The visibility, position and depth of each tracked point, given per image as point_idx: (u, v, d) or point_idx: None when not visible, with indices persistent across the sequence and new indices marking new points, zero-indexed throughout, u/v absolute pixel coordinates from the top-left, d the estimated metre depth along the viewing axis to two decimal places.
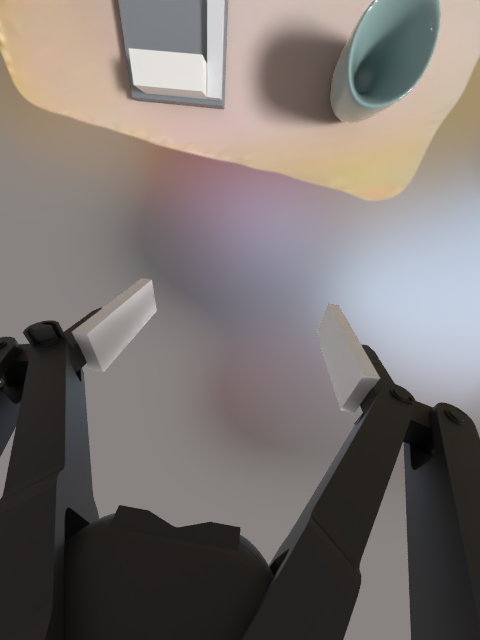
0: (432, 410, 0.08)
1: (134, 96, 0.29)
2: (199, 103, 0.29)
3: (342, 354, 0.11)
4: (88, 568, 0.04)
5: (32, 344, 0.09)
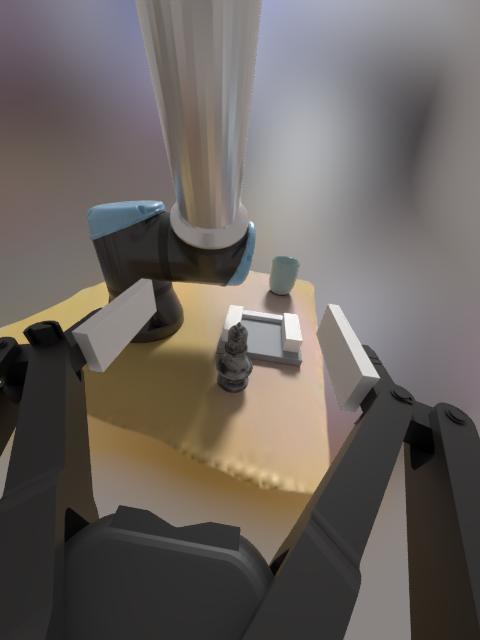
0: (432, 410, 0.08)
1: (301, 359, 0.38)
2: None
3: (342, 354, 0.11)
4: (88, 568, 0.04)
5: (32, 344, 0.09)
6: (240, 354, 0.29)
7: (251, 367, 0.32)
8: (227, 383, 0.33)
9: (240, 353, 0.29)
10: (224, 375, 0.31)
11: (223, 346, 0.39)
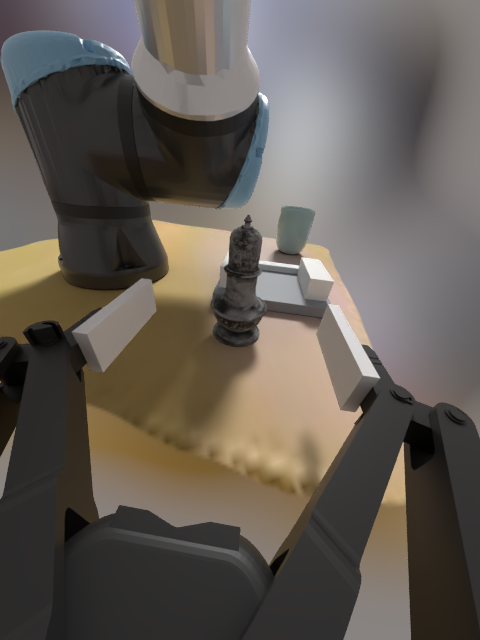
0: (432, 410, 0.08)
1: None
2: None
3: (342, 354, 0.11)
4: (88, 568, 0.04)
5: (32, 344, 0.09)
6: (250, 275, 0.18)
7: (265, 307, 0.21)
8: (228, 334, 0.22)
9: (250, 274, 0.18)
10: (224, 315, 0.19)
11: (221, 292, 0.28)
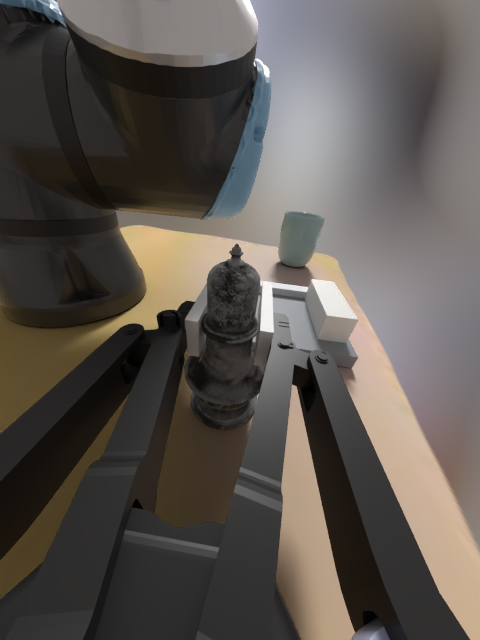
0: (308, 359, 0.10)
1: (355, 354, 0.20)
2: None
3: (259, 320, 0.13)
4: (129, 585, 0.04)
5: (159, 326, 0.11)
6: (240, 339, 0.11)
7: None
8: (212, 408, 0.15)
9: (241, 337, 0.11)
10: (201, 393, 0.12)
11: None
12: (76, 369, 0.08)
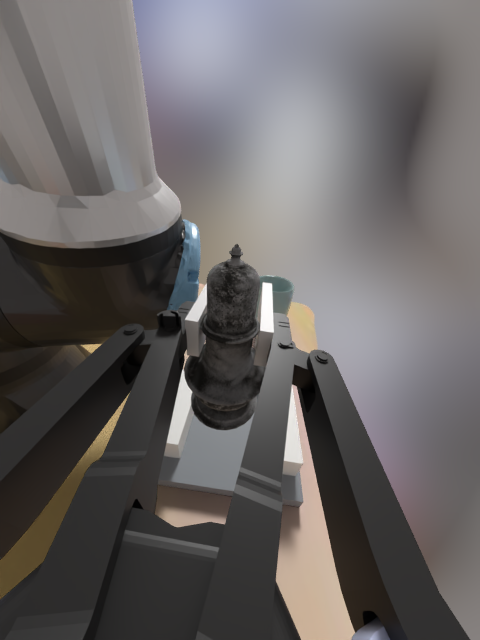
0: (308, 359, 0.10)
1: (301, 497, 0.20)
2: None
3: (259, 320, 0.13)
4: (129, 586, 0.04)
5: (159, 326, 0.11)
6: (240, 339, 0.11)
7: None
8: (211, 408, 0.15)
9: (241, 337, 0.11)
10: (201, 394, 0.12)
11: None
12: (76, 369, 0.08)
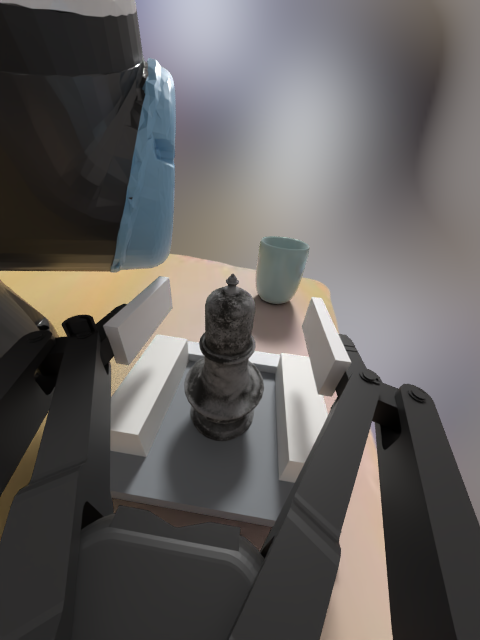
0: (397, 392, 0.09)
1: None
2: None
3: (321, 342, 0.12)
4: (100, 569, 0.04)
5: (68, 336, 0.10)
6: (237, 360, 0.12)
7: (261, 386, 0.15)
8: None
9: (237, 358, 0.12)
10: (200, 409, 0.13)
11: None
12: None
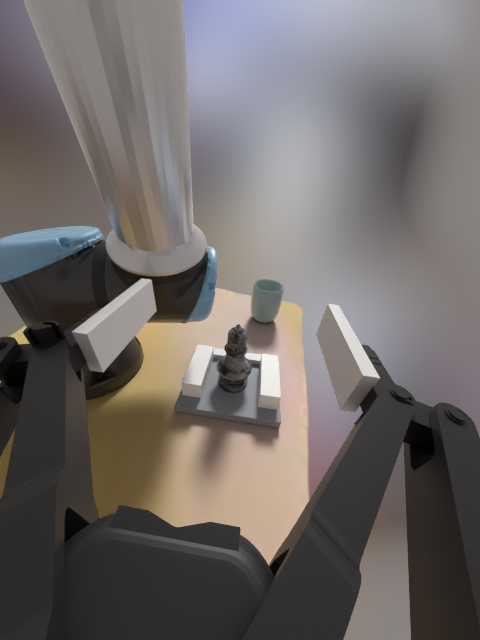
0: (432, 410, 0.08)
1: (280, 420, 0.30)
2: None
3: (342, 354, 0.11)
4: (88, 568, 0.04)
5: (32, 344, 0.09)
6: (240, 355, 0.30)
7: (250, 368, 0.34)
8: (227, 384, 0.34)
9: (240, 354, 0.30)
10: (225, 376, 0.32)
11: (183, 404, 0.31)
12: None
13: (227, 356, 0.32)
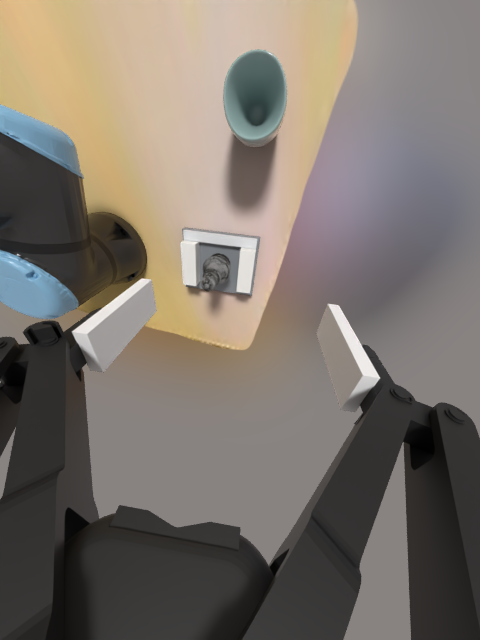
0: (432, 410, 0.08)
1: (251, 294, 0.48)
2: (257, 254, 0.43)
3: (342, 354, 0.11)
4: (88, 568, 0.04)
5: (32, 344, 0.09)
6: (215, 285, 0.40)
7: (228, 272, 0.42)
8: None
9: (215, 285, 0.40)
10: None
11: (190, 285, 0.49)
12: None
13: None
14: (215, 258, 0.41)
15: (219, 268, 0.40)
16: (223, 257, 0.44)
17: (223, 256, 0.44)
